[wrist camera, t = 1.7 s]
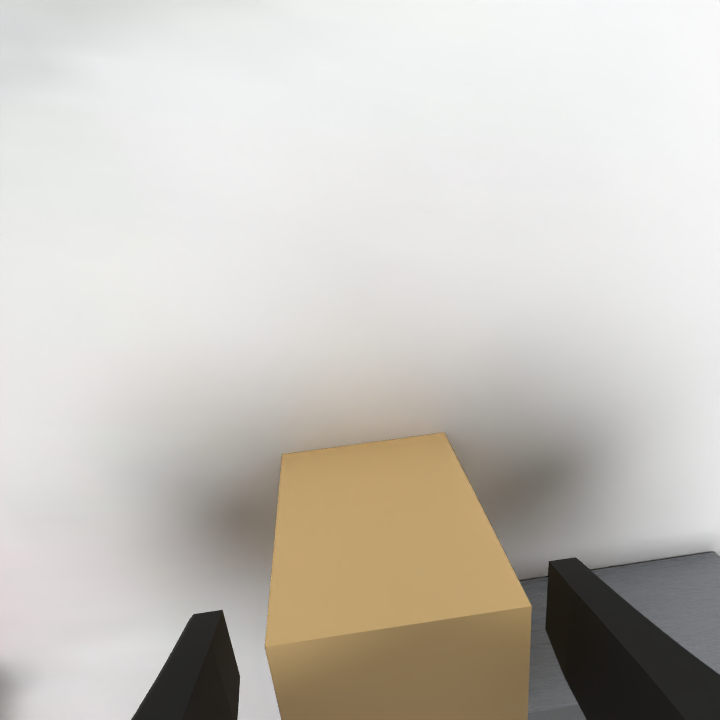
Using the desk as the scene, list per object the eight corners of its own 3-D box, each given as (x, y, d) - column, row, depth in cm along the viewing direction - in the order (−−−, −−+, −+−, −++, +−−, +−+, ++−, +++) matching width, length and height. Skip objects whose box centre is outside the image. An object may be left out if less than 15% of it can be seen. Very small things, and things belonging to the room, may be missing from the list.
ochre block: (449, 558, 16) (525, 773, 10) (304, 580, 16) (302, 811, 10) (444, 432, 14) (531, 605, 9) (282, 453, 14) (264, 647, 8)
